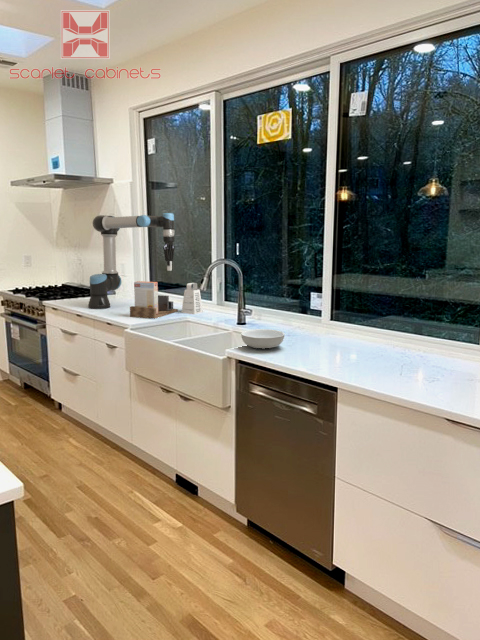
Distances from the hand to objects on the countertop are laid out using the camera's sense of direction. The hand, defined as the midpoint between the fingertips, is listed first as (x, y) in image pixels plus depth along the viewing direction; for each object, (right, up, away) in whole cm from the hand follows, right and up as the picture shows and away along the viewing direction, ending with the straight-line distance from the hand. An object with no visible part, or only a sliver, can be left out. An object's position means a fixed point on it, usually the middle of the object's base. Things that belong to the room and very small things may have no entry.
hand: (169, 270), depth 329 cm
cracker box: (-11, -31, -23) cm, 40 cm away
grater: (+16, -30, -6) cm, 34 cm away
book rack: (-8, -30, -14) cm, 34 cm away
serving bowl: (+60, -48, -100) cm, 126 cm away
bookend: (-4, -27, -5) cm, 28 cm away
